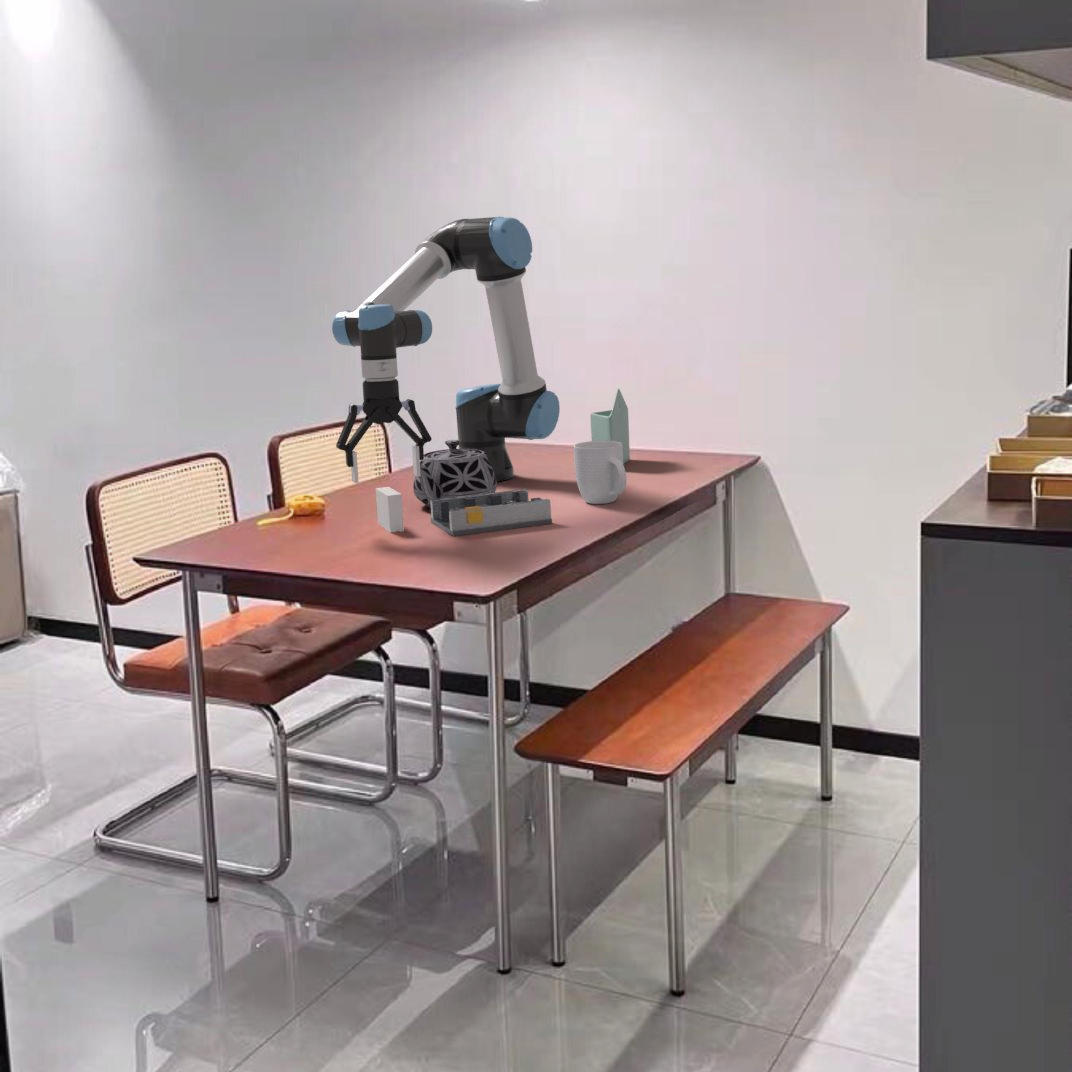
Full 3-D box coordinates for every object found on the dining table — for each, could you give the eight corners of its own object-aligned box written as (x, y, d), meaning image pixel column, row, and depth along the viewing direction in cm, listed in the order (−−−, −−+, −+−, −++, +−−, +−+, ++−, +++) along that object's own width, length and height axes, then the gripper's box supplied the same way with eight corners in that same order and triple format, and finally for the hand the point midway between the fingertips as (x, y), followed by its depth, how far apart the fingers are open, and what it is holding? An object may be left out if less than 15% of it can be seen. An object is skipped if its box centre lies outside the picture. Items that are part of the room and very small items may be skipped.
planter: (601, 459, 388) (598, 384, 384) (630, 459, 385) (627, 384, 381) (583, 470, 373) (580, 393, 368) (613, 471, 370) (611, 392, 366)
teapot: (382, 517, 328) (377, 450, 325) (451, 491, 354) (448, 429, 351) (456, 521, 319) (452, 453, 316) (521, 494, 346) (518, 431, 343)
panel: (378, 524, 321) (375, 488, 319) (391, 522, 322) (388, 486, 320) (390, 532, 312) (387, 495, 310) (403, 531, 313) (401, 494, 311)
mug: (644, 503, 328) (643, 445, 326) (605, 511, 323) (602, 452, 320) (605, 494, 341) (603, 438, 338) (566, 501, 335) (563, 444, 332)
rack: (431, 522, 320) (429, 498, 319) (526, 510, 327) (524, 487, 326) (453, 536, 305) (451, 511, 304) (552, 523, 312) (551, 499, 311)
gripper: (325, 385, 302) (333, 487, 306) (442, 376, 311) (447, 475, 315) (317, 382, 309) (325, 481, 313) (431, 373, 317) (437, 470, 322)
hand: (386, 478), depth 314 cm, fingers open, 13 cm apart
